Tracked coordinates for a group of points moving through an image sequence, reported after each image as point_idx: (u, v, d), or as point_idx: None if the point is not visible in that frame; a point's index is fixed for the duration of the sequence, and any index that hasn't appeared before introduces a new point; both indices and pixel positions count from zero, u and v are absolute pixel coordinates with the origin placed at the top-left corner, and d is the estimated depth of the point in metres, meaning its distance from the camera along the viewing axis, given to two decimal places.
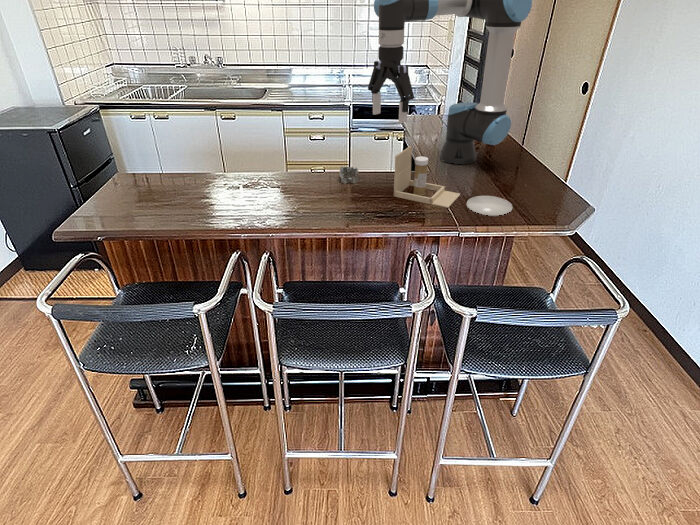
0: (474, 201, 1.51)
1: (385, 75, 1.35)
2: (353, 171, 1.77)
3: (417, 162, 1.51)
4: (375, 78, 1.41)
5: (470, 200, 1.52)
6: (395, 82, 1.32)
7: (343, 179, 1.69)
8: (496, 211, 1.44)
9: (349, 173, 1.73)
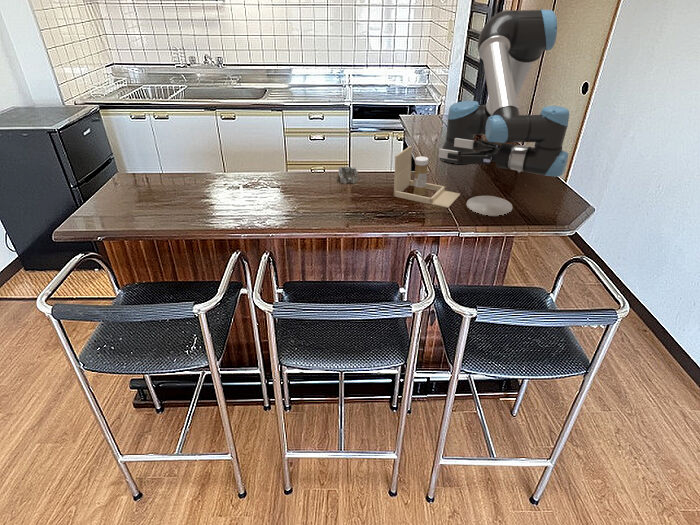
0: (474, 201, 1.51)
1: None
2: (352, 171, 1.77)
3: (417, 162, 1.51)
4: None
5: (470, 200, 1.52)
6: None
7: (343, 179, 1.68)
8: (496, 211, 1.44)
9: (348, 173, 1.73)
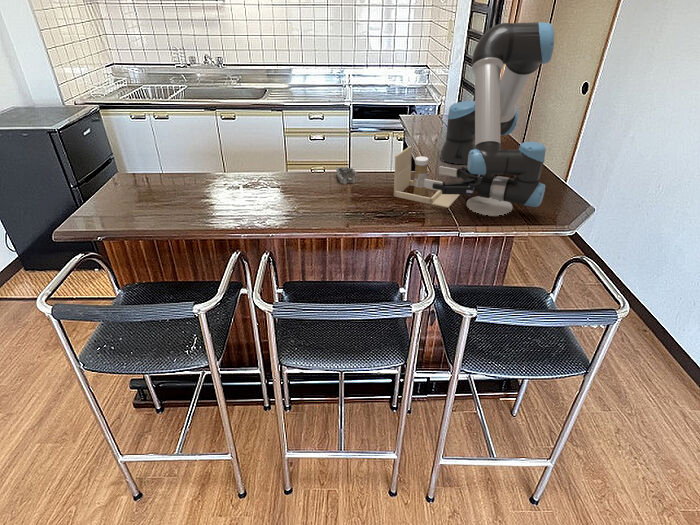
0: (474, 201, 1.51)
1: None
2: (348, 171, 1.77)
3: (417, 162, 1.51)
4: None
5: (470, 200, 1.52)
6: None
7: (343, 180, 1.68)
8: (496, 211, 1.44)
9: (346, 173, 1.72)
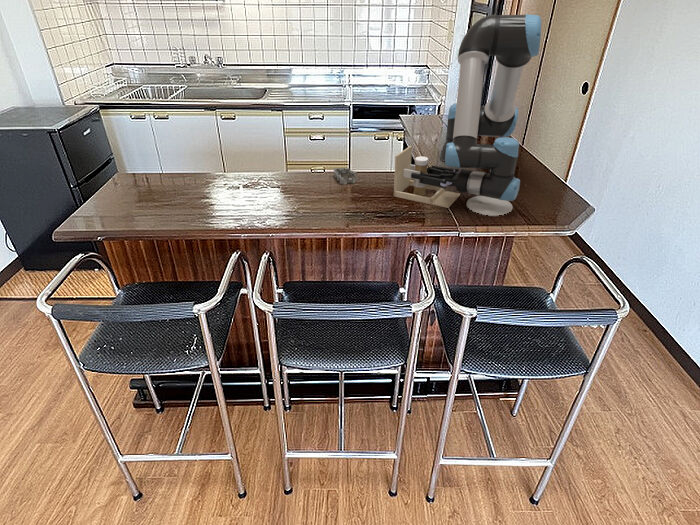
0: (474, 201, 1.51)
1: None
2: (345, 172, 1.77)
3: (417, 162, 1.51)
4: None
5: (470, 200, 1.52)
6: None
7: (343, 180, 1.68)
8: (496, 211, 1.44)
9: (345, 174, 1.72)
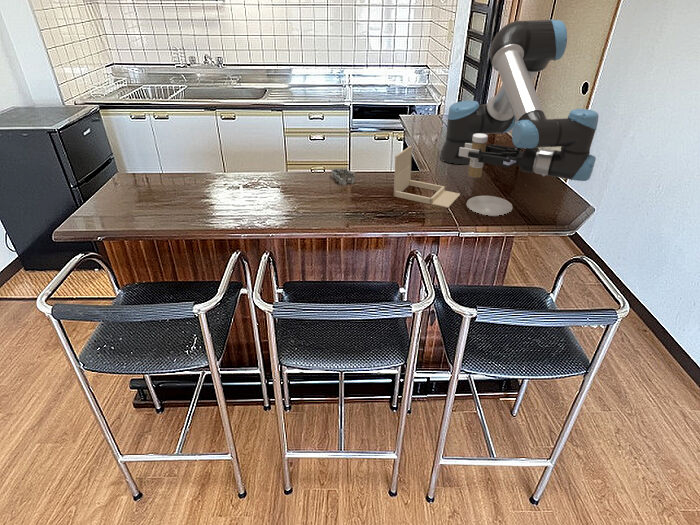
0: (474, 201, 1.51)
1: None
2: (343, 172, 1.76)
3: (475, 139, 1.37)
4: None
5: (470, 200, 1.52)
6: None
7: (342, 181, 1.67)
8: (496, 211, 1.44)
9: (343, 174, 1.72)
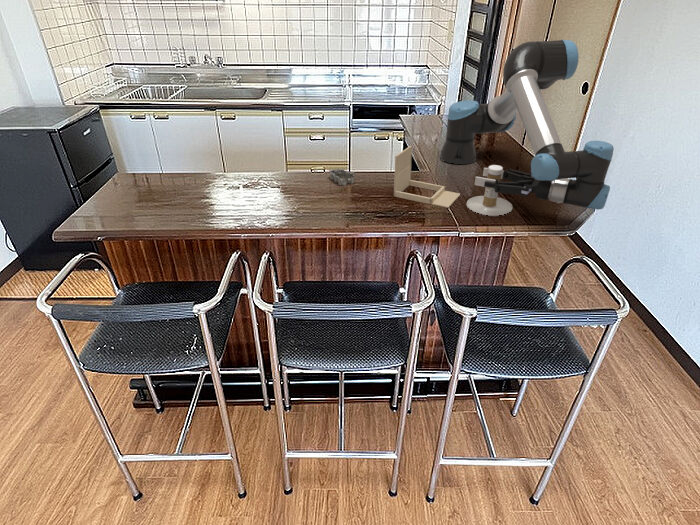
0: (474, 201, 1.51)
1: None
2: None
3: (491, 171, 1.40)
4: None
5: (470, 200, 1.52)
6: None
7: (342, 181, 1.67)
8: (496, 211, 1.44)
9: (341, 175, 1.71)
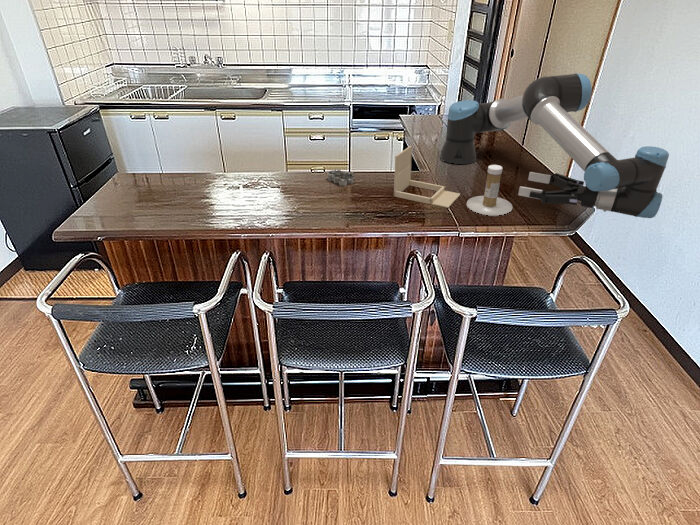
0: (474, 201, 1.51)
1: None
2: (336, 173, 1.75)
3: (491, 171, 1.41)
4: None
5: (470, 200, 1.52)
6: None
7: (343, 182, 1.66)
8: (496, 211, 1.44)
9: (340, 175, 1.71)
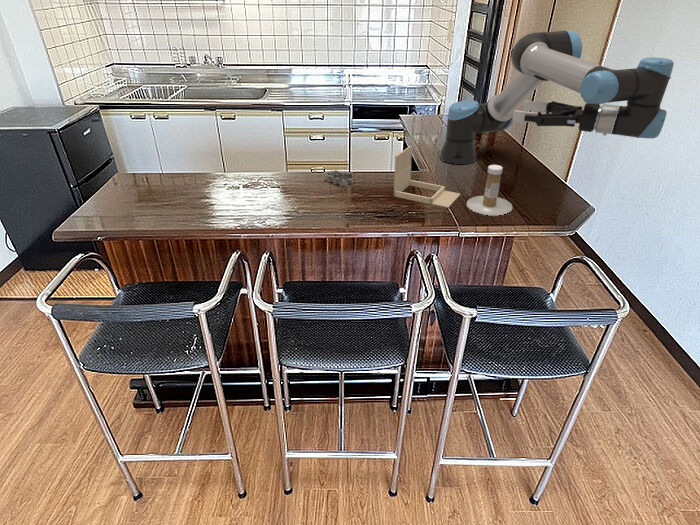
0: (474, 201, 1.51)
1: None
2: (333, 174, 1.74)
3: (491, 171, 1.41)
4: None
5: (470, 200, 1.52)
6: None
7: (344, 182, 1.66)
8: (496, 211, 1.44)
9: (338, 176, 1.70)
